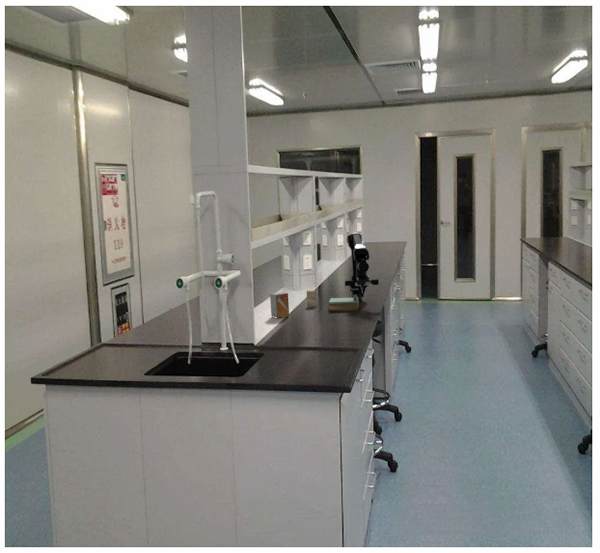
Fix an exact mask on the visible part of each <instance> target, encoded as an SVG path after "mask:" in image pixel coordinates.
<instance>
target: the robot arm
mask: <svg viewBox="0 0 600 553" xmlns="http://www.w3.org/2000/svg"><path fill="white" fill-rule="evenodd" d="M362 237H363V236H362V234H361V233H360V232H352V233H351V234H349V235H347V237H346V242H347V243H346V244H348V245H347V246H348V247H349V250H350V251H351V267H352V268H351V270H352V274H351V276H350V279H346V280H345V281H344V287H347V286H348V290H349V292H351V298H353V297H354V295H357V297H359V299H358V300H359V302H363V298H364V297H365V292H366V289H367V287H368V288H369V285H372V286H379V284H380V283H379V282H380V281H379V278H371V279H370V275H367V274H368V273H367V272H368V271H369V269H370V265H369V263H368V262H367V261H369V260H370V252H369V249H367V247H366V246H365V245H364V244H363V242H362V241H363V238H362Z"/></svg>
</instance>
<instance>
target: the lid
mask: <svg viewBox="0 0 600 553" xmlns="http://www.w3.org/2000/svg"><path fill="white" fill-rule="evenodd" d="M358 299H359V297H357V295H354V297H353V298H352V297H330V299H329V301H328V305H329V304H340V303H358Z"/></svg>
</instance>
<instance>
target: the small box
mask: <svg viewBox="0 0 600 553" xmlns="http://www.w3.org/2000/svg"><path fill="white" fill-rule="evenodd" d="M269 299H270V312H271V313H270V316H274V317H277V318H276V319H279V317H281V318H287V317H290V308H289V303H290V302H289V293H288V292H285V291H279V292H273V293H269ZM274 317H273V318H274Z"/></svg>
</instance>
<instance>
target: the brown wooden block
mask: <svg viewBox="0 0 600 553" xmlns="http://www.w3.org/2000/svg"><path fill="white" fill-rule="evenodd" d="M306 304H307V306H306V307H307V308H309V307H311V308H313V307H316V306H317V305H318V303H317V290H316V289H315V290H314V289H309V290H306Z"/></svg>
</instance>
